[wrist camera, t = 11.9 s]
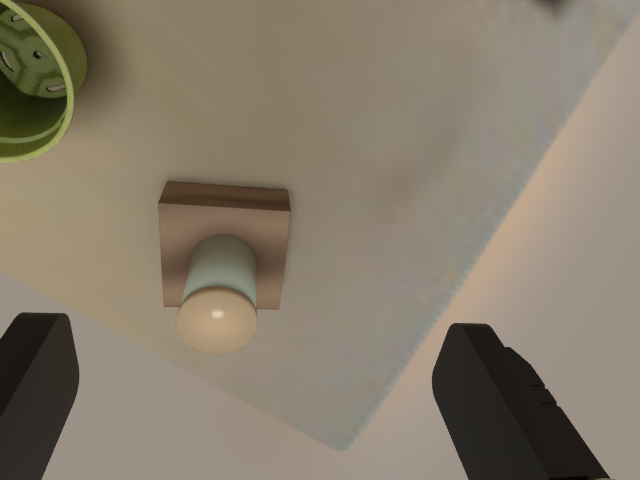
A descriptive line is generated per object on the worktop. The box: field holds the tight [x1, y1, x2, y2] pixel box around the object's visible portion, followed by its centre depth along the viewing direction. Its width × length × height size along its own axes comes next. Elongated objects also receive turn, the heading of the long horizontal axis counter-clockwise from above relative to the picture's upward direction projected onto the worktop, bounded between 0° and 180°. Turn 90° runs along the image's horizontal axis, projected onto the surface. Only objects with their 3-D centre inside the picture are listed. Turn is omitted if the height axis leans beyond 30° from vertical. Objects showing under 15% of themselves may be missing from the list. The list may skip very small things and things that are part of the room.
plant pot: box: [0, 0, 88, 163], centre depth 27 cm, size 9×9×9 cm
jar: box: [176, 234, 257, 354], centre depth 33 cm, size 5×5×8 cm
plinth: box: [158, 182, 291, 310], centre depth 38 cm, size 10×10×4 cm
